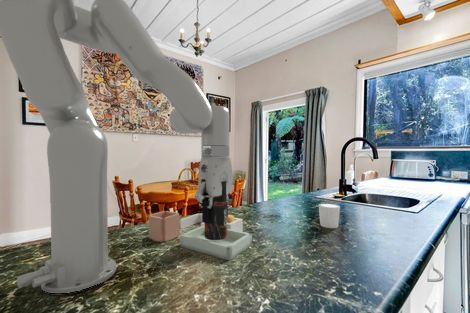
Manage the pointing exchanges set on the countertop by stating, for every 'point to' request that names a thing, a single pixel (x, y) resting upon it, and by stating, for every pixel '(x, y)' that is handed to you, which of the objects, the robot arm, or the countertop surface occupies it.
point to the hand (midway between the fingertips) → (215, 219)
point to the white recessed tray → (196, 218)
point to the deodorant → (218, 217)
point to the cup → (163, 226)
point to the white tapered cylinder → (329, 215)
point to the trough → (217, 243)
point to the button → (230, 218)
